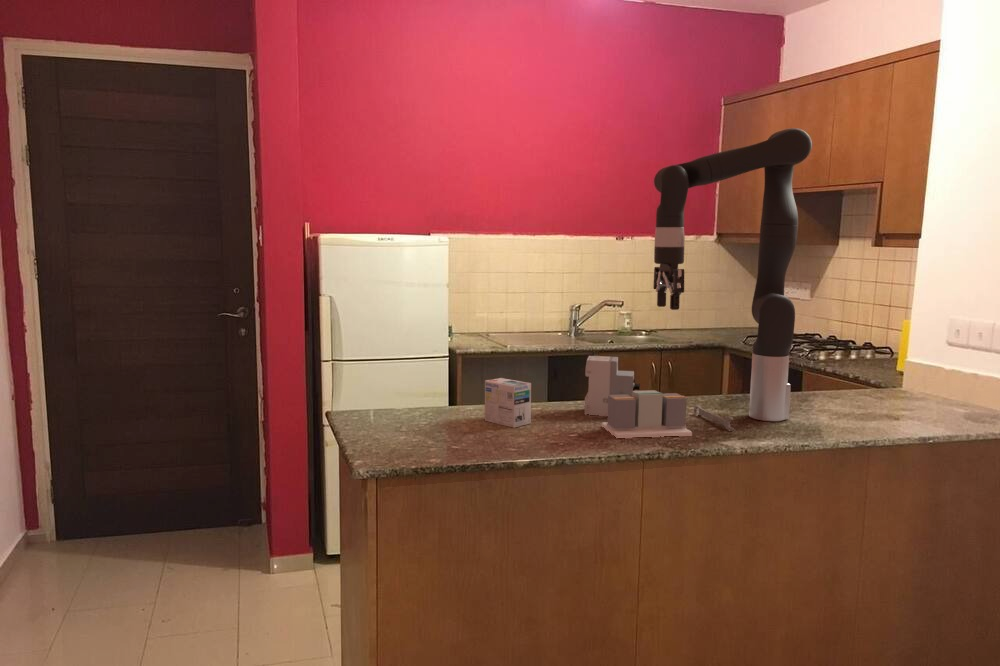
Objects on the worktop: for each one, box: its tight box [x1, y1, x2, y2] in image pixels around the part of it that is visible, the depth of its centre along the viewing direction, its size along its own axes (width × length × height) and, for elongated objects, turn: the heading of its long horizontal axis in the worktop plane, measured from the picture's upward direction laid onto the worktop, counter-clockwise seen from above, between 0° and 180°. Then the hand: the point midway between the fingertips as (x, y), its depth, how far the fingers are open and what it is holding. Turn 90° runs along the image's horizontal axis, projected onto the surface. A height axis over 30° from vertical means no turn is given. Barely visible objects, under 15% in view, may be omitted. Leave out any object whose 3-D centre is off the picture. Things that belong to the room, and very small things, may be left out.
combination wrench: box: [693, 405, 735, 432], centre depth 198 cm, size 4×1×20 cm
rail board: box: [601, 392, 693, 439], centre depth 189 cm, size 19×12×9 cm, turn 100°
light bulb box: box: [484, 377, 532, 428], centre depth 196 cm, size 11×7×11 cm, turn 47°
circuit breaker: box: [584, 355, 641, 417], centre depth 207 cm, size 8×14×15 cm, turn 78°
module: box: [632, 389, 664, 427], centre depth 189 cm, size 6×5×8 cm
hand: (667, 308), depth 198 cm, fingers open, 8 cm apart
